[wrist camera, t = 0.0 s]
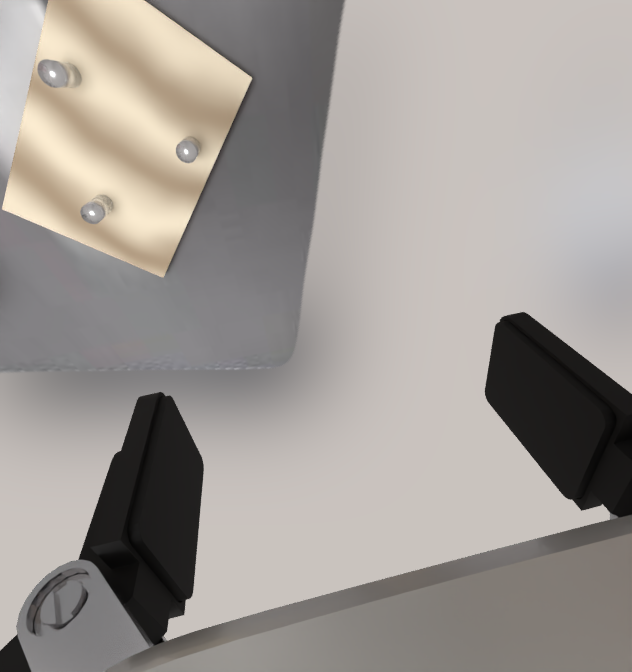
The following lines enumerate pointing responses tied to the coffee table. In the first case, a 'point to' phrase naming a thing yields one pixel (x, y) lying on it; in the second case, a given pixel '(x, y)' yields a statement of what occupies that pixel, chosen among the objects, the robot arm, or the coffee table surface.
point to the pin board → (120, 128)
